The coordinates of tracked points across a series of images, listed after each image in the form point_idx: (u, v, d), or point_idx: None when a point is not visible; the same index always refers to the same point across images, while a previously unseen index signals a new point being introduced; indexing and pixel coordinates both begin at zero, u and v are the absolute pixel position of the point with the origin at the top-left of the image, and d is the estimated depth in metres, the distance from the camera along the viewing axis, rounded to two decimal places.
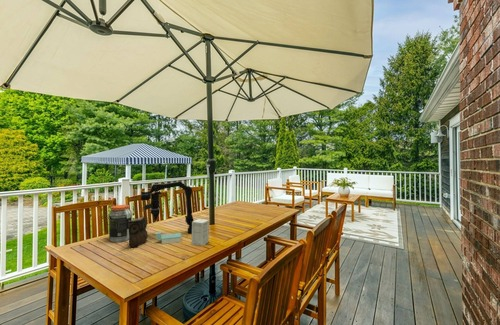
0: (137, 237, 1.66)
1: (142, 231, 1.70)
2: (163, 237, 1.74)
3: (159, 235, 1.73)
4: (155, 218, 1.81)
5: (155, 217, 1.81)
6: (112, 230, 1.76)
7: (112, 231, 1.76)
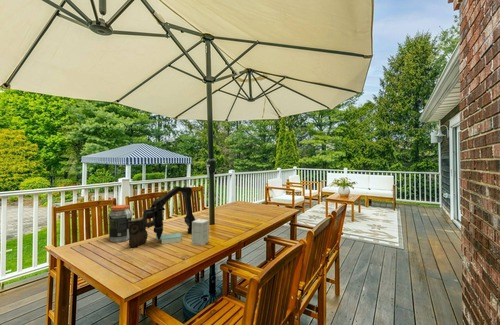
0: (137, 237, 1.66)
1: (142, 231, 1.70)
2: (163, 237, 1.74)
3: None
4: (158, 237, 1.69)
5: (158, 236, 1.69)
6: (112, 230, 1.76)
7: (112, 231, 1.76)
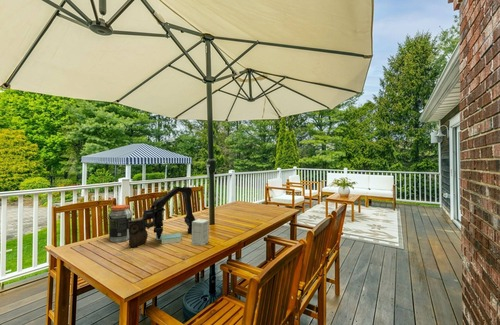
0: (137, 237, 1.66)
1: (142, 231, 1.70)
2: (163, 237, 1.74)
3: None
4: (158, 236, 1.72)
5: (158, 235, 1.72)
6: (112, 230, 1.76)
7: (112, 231, 1.76)
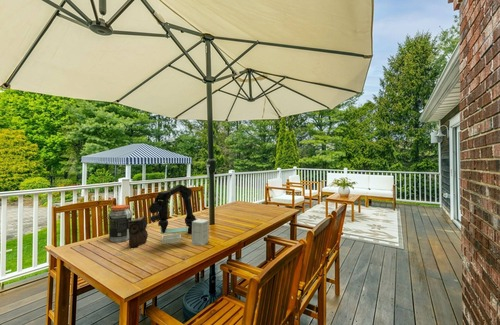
0: (137, 237, 1.66)
1: (142, 231, 1.70)
2: (168, 231, 1.64)
3: None
4: (163, 230, 1.62)
5: (163, 229, 1.62)
6: (112, 230, 1.76)
7: (112, 231, 1.76)
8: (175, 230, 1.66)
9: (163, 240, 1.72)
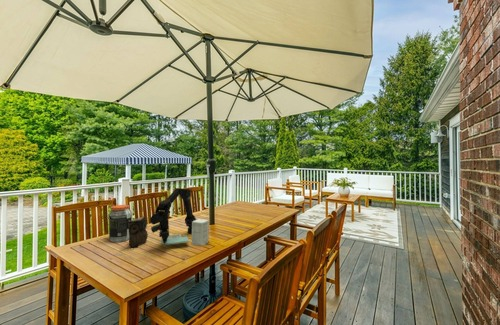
0: (137, 237, 1.66)
1: (142, 231, 1.70)
2: (169, 241, 1.64)
3: None
4: (164, 240, 1.62)
5: (164, 239, 1.62)
6: (112, 230, 1.76)
7: (112, 231, 1.76)
8: (176, 240, 1.66)
9: None
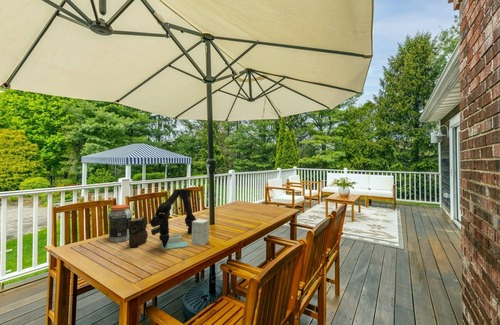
0: (137, 237, 1.66)
1: (142, 231, 1.70)
2: (169, 246, 1.64)
3: None
4: (164, 244, 1.60)
5: (164, 243, 1.60)
6: (112, 230, 1.76)
7: (112, 231, 1.76)
8: (176, 245, 1.66)
9: None
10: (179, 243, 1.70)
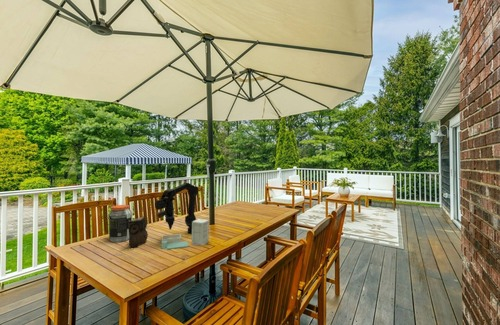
0: (137, 237, 1.66)
1: (142, 231, 1.70)
2: (169, 246, 1.64)
3: (165, 244, 1.63)
4: (170, 226, 1.71)
5: (170, 225, 1.71)
6: (112, 230, 1.76)
7: (112, 231, 1.76)
8: (176, 245, 1.66)
9: (163, 240, 1.72)
10: (179, 243, 1.70)
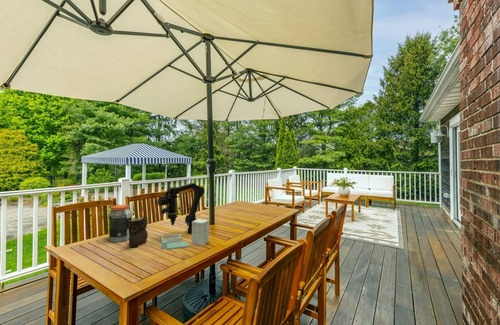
0: (137, 237, 1.66)
1: (142, 231, 1.70)
2: (169, 246, 1.64)
3: (165, 244, 1.63)
4: (172, 222, 1.78)
5: (172, 221, 1.78)
6: (112, 230, 1.76)
7: (112, 231, 1.76)
8: (176, 245, 1.66)
9: (163, 240, 1.72)
10: (179, 243, 1.70)
